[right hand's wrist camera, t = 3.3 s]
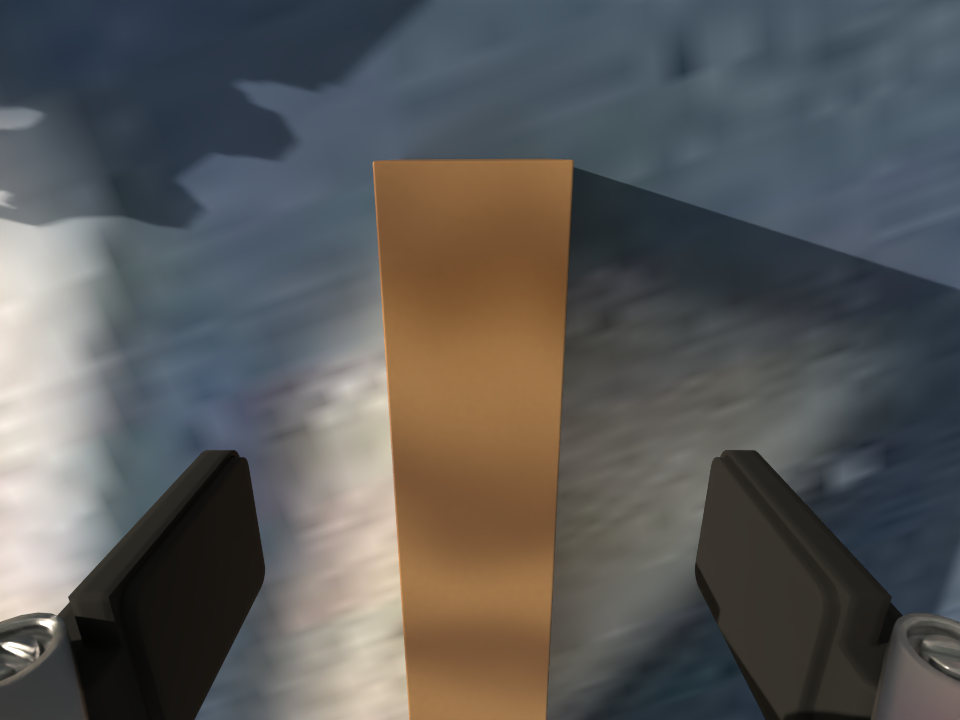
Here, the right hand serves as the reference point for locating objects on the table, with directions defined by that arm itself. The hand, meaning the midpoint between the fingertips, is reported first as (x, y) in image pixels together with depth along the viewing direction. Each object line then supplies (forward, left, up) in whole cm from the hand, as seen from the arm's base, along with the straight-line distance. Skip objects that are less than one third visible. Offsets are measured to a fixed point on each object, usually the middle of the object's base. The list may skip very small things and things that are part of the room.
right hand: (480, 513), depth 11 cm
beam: (+21, -23, -12) cm, 33 cm away
